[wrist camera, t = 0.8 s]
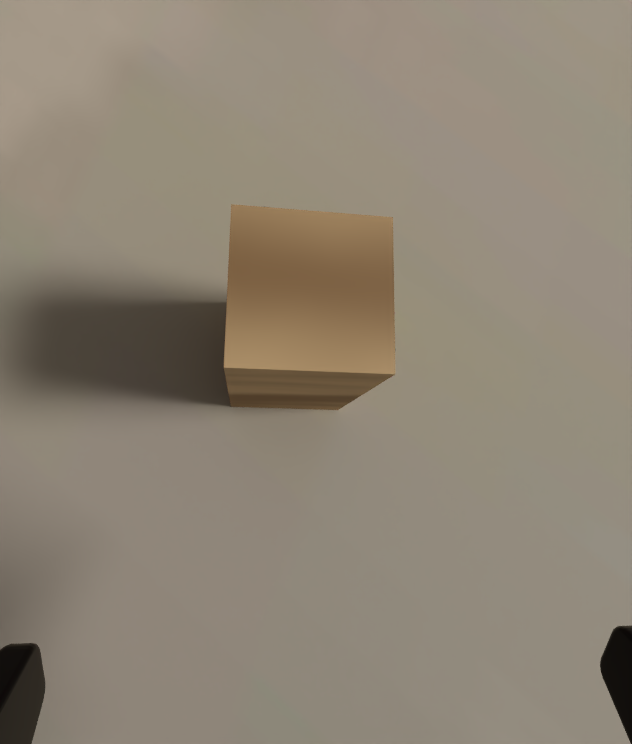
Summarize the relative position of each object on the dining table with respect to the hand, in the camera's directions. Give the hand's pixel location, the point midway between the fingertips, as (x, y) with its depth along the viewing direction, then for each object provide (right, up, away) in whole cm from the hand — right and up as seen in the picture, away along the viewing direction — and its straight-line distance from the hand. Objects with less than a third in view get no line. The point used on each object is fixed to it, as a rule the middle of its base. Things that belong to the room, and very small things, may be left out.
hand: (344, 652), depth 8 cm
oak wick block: (-2, +5, +14) cm, 15 cm away
